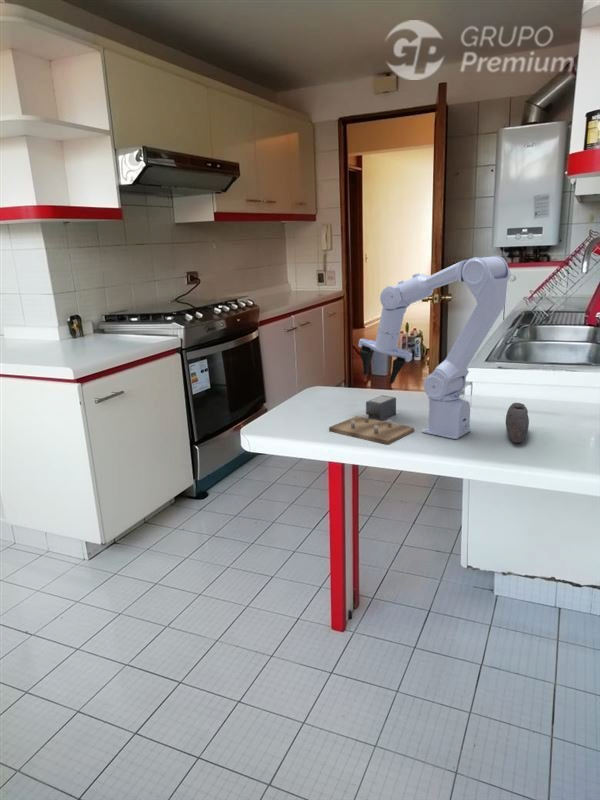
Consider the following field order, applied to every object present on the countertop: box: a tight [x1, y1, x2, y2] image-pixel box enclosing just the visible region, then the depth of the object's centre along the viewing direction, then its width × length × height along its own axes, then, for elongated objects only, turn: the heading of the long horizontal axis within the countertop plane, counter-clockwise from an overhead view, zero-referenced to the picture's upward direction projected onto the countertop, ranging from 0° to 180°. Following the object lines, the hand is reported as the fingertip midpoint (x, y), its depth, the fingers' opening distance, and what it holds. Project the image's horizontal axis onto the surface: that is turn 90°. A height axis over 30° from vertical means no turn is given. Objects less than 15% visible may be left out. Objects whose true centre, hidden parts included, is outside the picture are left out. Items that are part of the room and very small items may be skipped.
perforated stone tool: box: [505, 402, 530, 444], centre depth 134 cm, size 15×5×7 cm, turn 159°
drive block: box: [365, 394, 397, 421], centre depth 155 cm, size 4×8×5 cm, turn 138°
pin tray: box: [328, 413, 415, 446], centre depth 144 cm, size 18×12×3 cm, turn 48°
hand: (378, 378), depth 153 cm, fingers open, 7 cm apart
